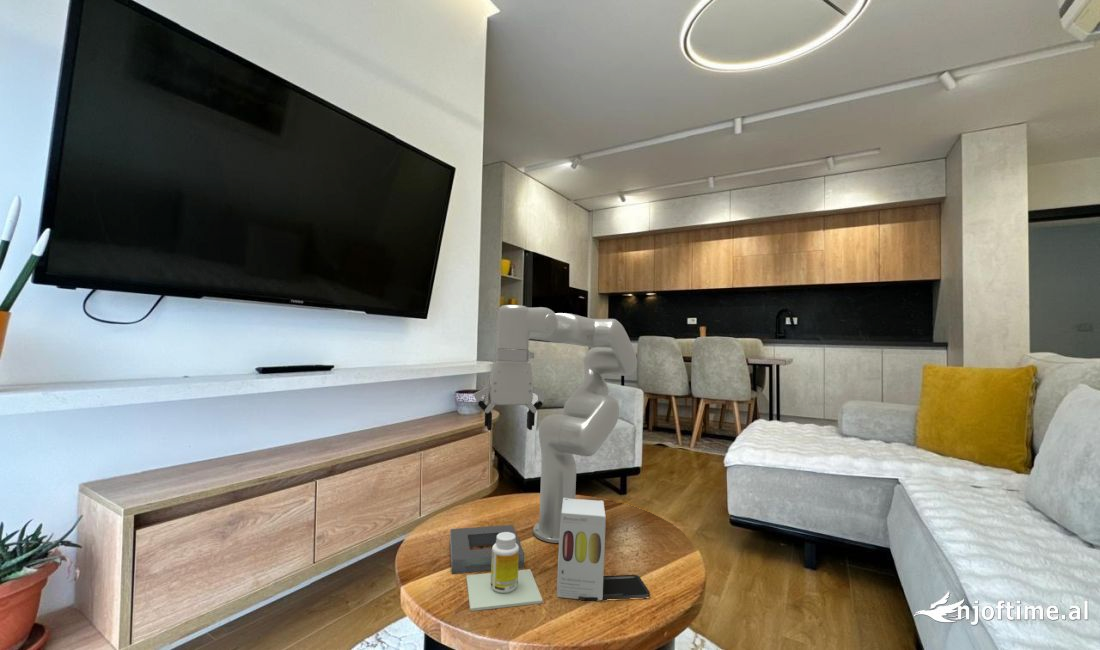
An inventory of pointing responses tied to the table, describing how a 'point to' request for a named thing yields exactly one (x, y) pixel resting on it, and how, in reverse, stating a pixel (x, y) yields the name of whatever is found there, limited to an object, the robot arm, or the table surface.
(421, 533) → the table surface
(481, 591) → the sage mat
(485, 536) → the socket block
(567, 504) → the supplement box
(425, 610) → the table surface
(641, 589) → the phone
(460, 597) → the table surface
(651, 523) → the table surface
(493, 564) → the supplement bottle
